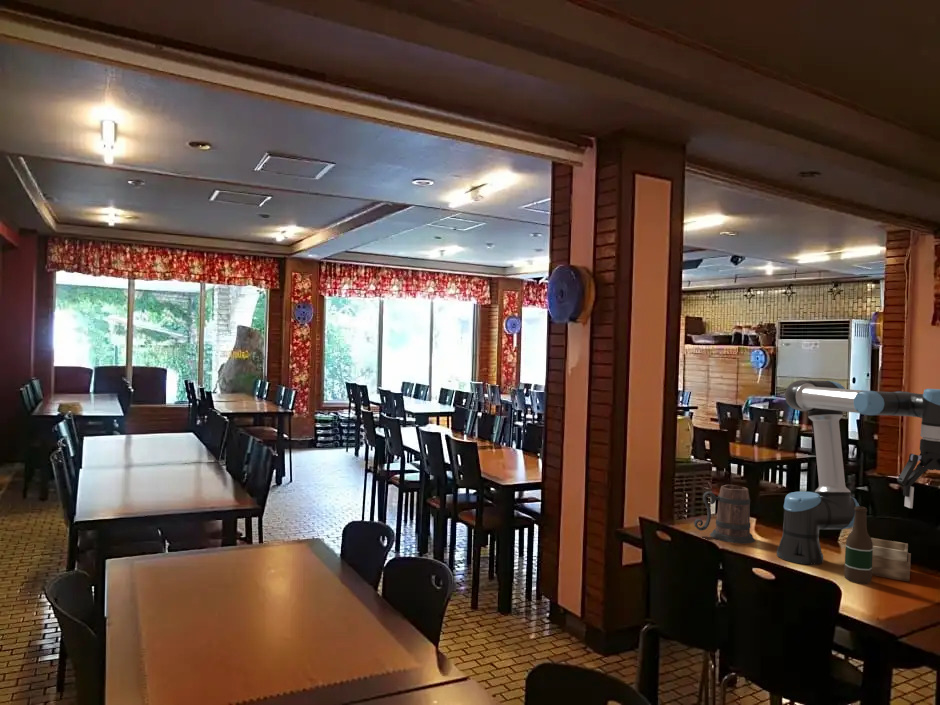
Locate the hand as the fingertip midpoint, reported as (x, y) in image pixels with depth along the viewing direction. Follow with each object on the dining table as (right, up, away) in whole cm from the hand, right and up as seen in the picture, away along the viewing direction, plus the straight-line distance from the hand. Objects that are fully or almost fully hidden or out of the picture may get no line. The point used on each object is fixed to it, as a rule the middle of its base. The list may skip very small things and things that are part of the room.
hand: (929, 508), depth 214 cm
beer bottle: (-15, -27, +14) cm, 33 cm away
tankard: (-41, -26, +62) cm, 78 cm away
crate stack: (+1, -27, +25) cm, 37 cm away
